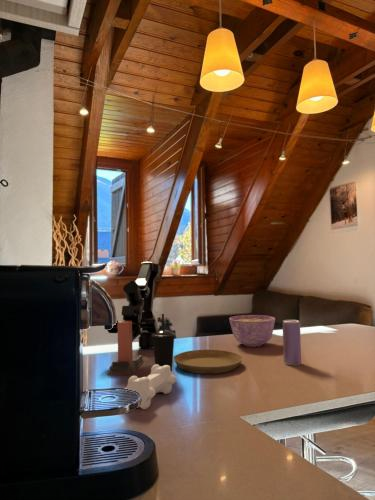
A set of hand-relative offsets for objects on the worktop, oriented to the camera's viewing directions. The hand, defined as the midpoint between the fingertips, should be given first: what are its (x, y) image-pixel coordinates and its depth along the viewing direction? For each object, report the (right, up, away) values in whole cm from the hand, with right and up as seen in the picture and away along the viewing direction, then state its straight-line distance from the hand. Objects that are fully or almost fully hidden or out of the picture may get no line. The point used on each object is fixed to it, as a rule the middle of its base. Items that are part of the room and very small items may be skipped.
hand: (127, 345), depth 133 cm
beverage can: (+58, -6, -1) cm, 59 cm away
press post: (0, -6, -3) cm, 7 cm away
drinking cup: (+14, -7, -13) cm, 20 cm away
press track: (0, -7, -1) cm, 8 cm away
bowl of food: (+50, -8, +31) cm, 59 cm away
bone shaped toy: (+12, -6, -33) cm, 35 cm away
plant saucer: (+29, -7, -1) cm, 30 cm away
